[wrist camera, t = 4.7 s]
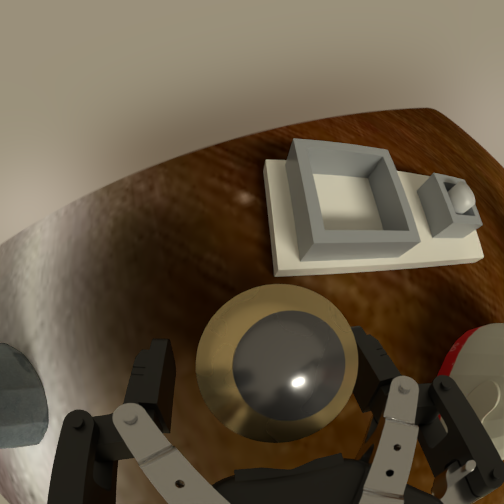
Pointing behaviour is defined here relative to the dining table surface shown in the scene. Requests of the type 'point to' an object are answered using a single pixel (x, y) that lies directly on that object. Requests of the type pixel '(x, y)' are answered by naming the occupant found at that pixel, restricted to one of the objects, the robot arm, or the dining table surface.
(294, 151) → the white tray
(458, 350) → the kitchen timer
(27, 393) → the moka pot
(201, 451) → the dining table surface
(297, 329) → the gold bottle
